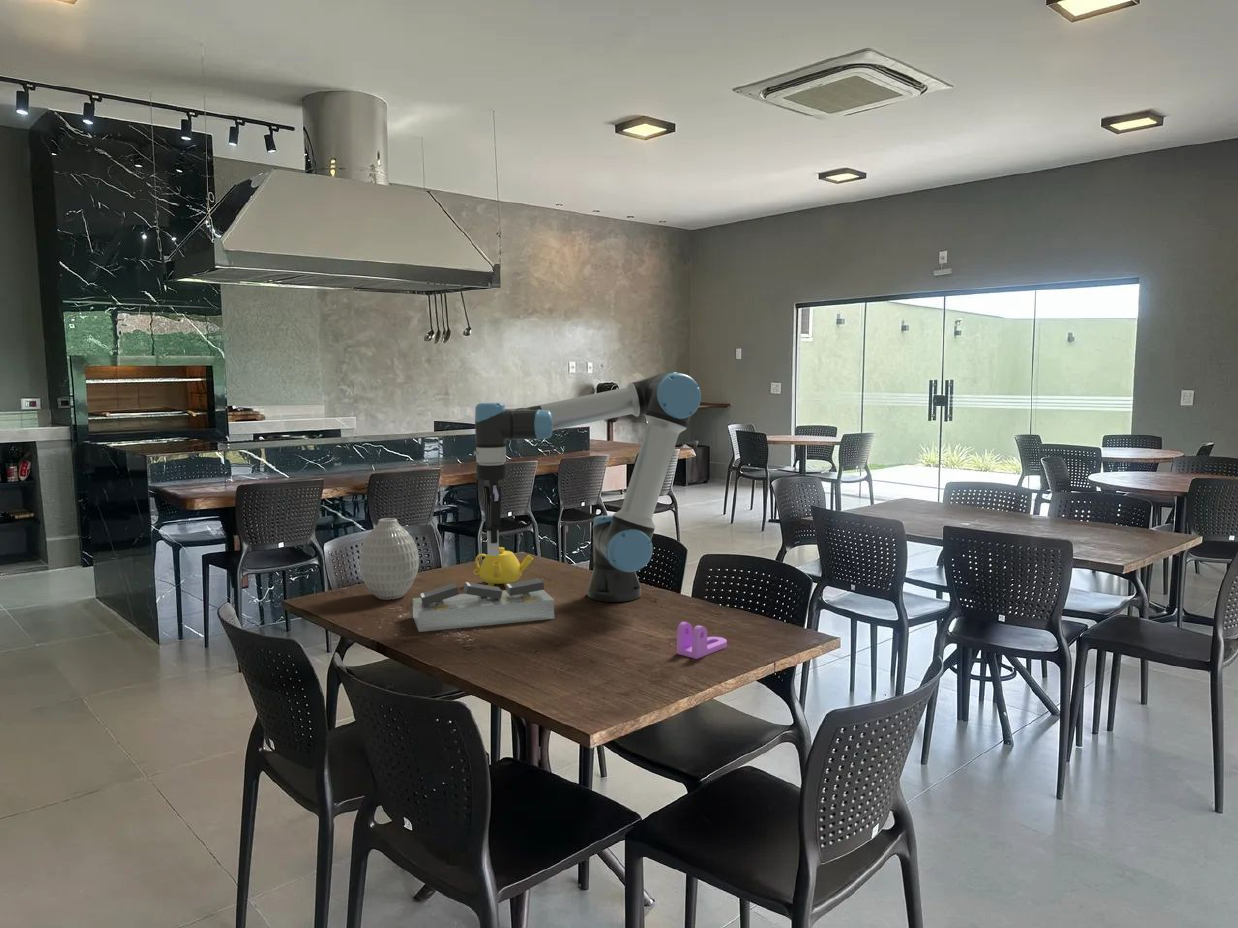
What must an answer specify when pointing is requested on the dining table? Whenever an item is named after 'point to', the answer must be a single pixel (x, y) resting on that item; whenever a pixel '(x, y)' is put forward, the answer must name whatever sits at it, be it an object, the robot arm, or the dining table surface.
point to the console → (482, 610)
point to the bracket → (697, 641)
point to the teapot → (501, 567)
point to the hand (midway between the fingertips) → (493, 554)
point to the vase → (389, 560)
